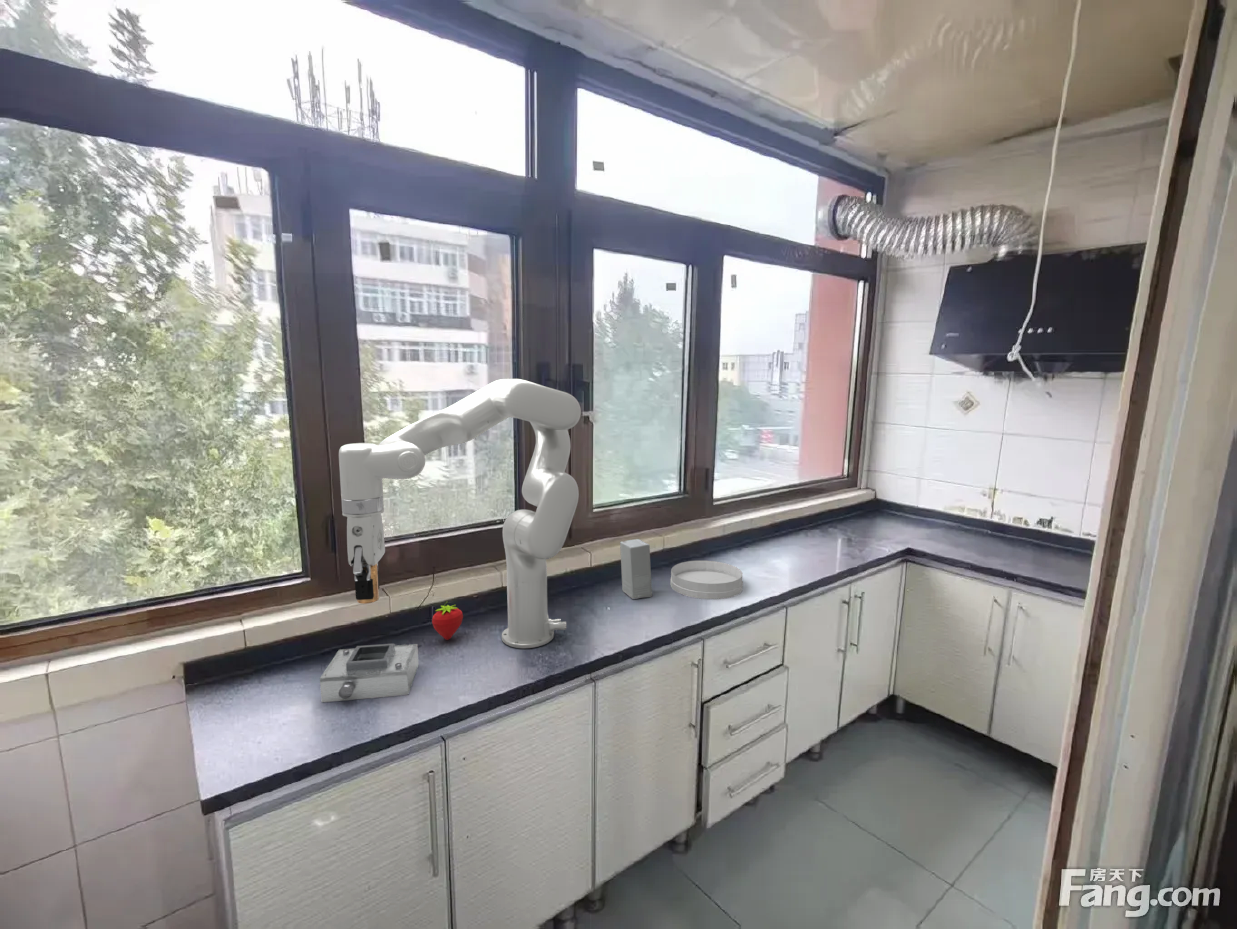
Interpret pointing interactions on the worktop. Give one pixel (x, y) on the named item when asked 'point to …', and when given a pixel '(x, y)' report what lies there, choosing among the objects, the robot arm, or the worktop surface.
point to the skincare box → (636, 568)
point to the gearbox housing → (370, 672)
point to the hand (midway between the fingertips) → (367, 593)
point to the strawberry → (447, 620)
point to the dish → (706, 579)
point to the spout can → (375, 584)
